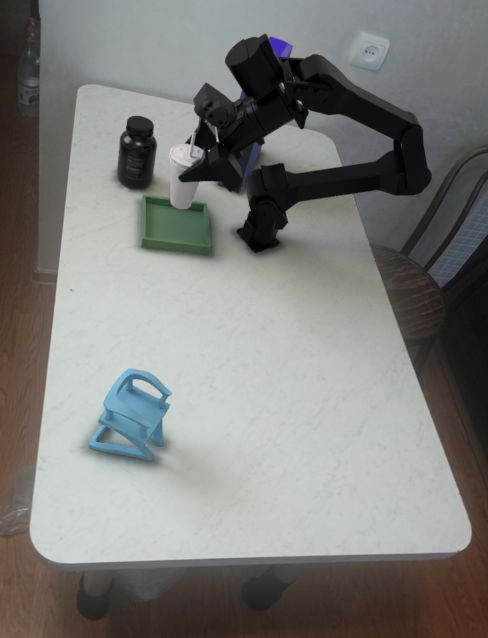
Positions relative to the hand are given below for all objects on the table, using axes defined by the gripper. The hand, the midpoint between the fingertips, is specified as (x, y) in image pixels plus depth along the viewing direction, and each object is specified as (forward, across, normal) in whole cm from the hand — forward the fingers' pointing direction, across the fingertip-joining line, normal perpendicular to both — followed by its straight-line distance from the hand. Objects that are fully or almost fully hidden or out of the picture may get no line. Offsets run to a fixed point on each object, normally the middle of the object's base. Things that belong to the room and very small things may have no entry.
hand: (178, 167), depth 89 cm
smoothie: (+4, 0, +6) cm, 7 cm away
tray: (+8, 0, +10) cm, 13 cm away
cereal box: (-2, -22, +21) cm, 31 cm away
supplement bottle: (+14, -13, +5) cm, 20 cm away
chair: (+14, +43, +5) cm, 46 cm away
